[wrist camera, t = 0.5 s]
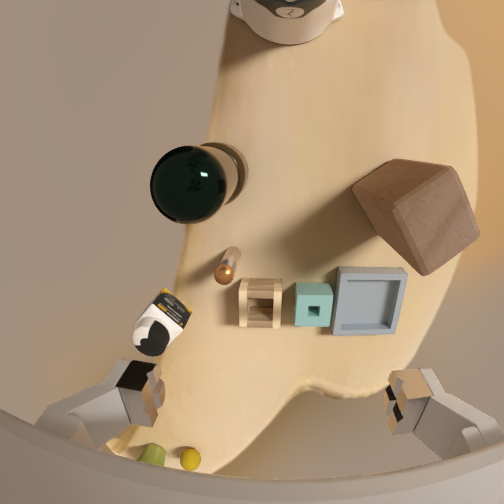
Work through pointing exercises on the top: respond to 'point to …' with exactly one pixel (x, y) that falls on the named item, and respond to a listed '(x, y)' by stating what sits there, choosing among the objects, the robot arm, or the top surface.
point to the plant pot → (153, 455)
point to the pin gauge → (227, 266)
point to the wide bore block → (260, 315)
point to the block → (418, 211)
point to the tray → (367, 300)
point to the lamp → (197, 181)
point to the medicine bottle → (160, 324)
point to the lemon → (190, 459)
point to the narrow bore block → (313, 304)
